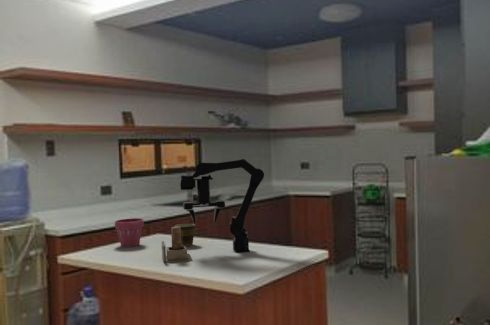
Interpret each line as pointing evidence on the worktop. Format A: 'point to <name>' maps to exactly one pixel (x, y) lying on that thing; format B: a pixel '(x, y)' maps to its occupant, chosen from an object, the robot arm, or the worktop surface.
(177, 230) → the wooden pestle
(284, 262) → the worktop surface
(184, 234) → the ceramic cup
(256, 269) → the worktop surface
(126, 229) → the plant pot
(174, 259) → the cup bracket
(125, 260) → the worktop surface
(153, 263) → the worktop surface
